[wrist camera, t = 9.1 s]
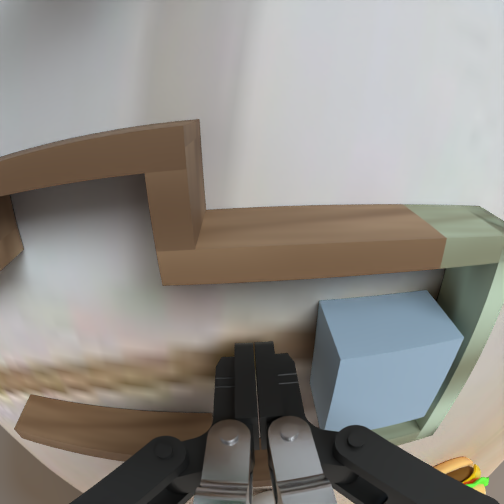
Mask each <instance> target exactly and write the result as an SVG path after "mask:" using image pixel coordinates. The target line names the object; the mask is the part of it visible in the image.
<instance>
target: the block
mask: <svg viewBox="0 0 504 504" xmlns="http://www.w3.org/2000/svg"><path fill="white" fill-rule="evenodd" d="M463 339H464V337H463V335H462V334H461V333H460V331H459V330H458V329H457V327H456V326H455V325H454V323H453V322H452V321H451V320H450V318H449V317H448V316H447V315H446V313H445V312H444V311H443V310H442V308H441V307H440V306H439V305H438V303H437V302H436V301H435V300H434V298H433V297H432V296H431V295H430V294H429V292H428V291H427V290H422V291H414V292H405V293H396V294H387V295H377V296H367V297H356V298H345V299H333V300H321V301H319V308H318V318H317V328H316V337H315V345H314V354H313V362H312V369H311V377H310V386H311V391H312V395H313V400H314V404H315V409H316V413H317V418H318V422H319V427H320V429H323V430H330V431H338V432H339V431H340V430H342V429H343V428H345V427H347V426H350V425H361V426H364V427H367V428H369V429H370V430H373V429H377V428H382V427H386V426H391V425H395V424H399V423H403V422H407V421H410V420H414V419H418V418H421V417H424V416H425V414H426V412H427V411H428V409H429V407H430V405H431V404H432V402H433V400H434V398H435V396H436V395H437V393H438V391H439V389H440V387H441V385H442V383H443V381H444V379H445V377H446V375H447V373H448V371H449V369H450V367H451V365H452V363H453V361H454V359H455V357H456V354H457V352H458V350H459V348H460V346H461V343H462V341H463Z"/></svg>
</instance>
